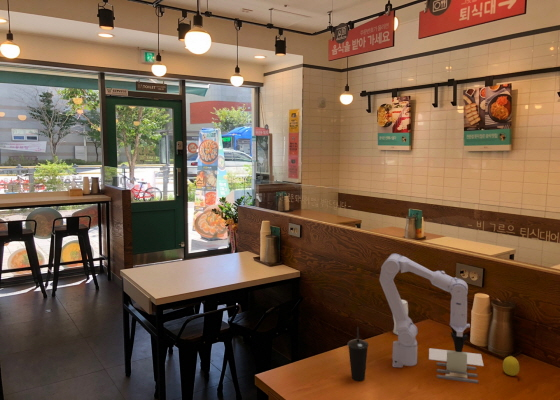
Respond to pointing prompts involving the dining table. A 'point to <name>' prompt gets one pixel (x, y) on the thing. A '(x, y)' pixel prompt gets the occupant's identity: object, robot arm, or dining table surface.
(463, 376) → the offcut top
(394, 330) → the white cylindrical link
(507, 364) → the lemon
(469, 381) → the rack
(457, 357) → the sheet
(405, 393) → the dining table surface
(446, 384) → the dining table surface
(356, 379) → the drinking cup
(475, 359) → the board
